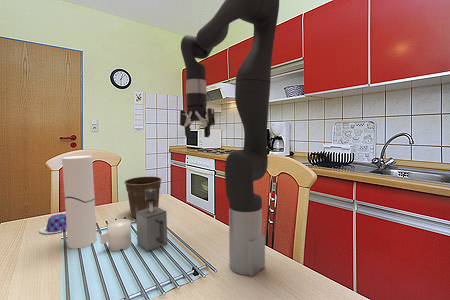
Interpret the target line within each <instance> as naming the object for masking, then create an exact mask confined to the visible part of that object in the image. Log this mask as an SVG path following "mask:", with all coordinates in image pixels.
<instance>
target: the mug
mask: <svg viewBox="0 0 450 300" xmlns="http://www.w3.org/2000/svg"><path fill="white" fill-rule="evenodd" d="M131 228H132V226H131V220H130V219H128V218H121V219H115V220H112V221H110V222H108V223H107V231H105V232H103V233H100V235H99V237H100V244H101V245H103V244H105V243H108V250H109V251H111V252H121V251H120V249H123V250H122V251H124V250H126V249H128V248H130V247H131V246H132V229H131Z"/></svg>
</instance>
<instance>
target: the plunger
mask: <svg viewBox="0 0 450 300" xmlns="http://www.w3.org/2000/svg"><path fill="white" fill-rule="evenodd" d="M145 201H146V202H149V206H150V213H151V212H153V203H152V201H156V189H146V190H145Z"/></svg>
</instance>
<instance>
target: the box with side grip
mask: <svg viewBox="0 0 450 300" xmlns="http://www.w3.org/2000/svg"><path fill="white" fill-rule="evenodd" d="M167 216H168V215H167V210H164V209H162V208H160V207H156V206H155V207H153V212H151V213H150V208H148V209H144V210H140V211H137V212H136V218H135V219H136V239H137V240H136V241H137V242H136V243H137V246H138V247H140V248H142V249H143V250H145V251H146V252H147V253H149V252H151V251H154V250H157V249H159V248H161V247H163V246H165V245H167V244H168V223H167V222H168V221H167V219H168V218H167ZM160 246H161V247H160ZM150 250H151V251H150Z"/></svg>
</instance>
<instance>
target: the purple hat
mask: <svg viewBox="0 0 450 300" xmlns="http://www.w3.org/2000/svg"><path fill="white" fill-rule="evenodd" d="M64 229H65V231H67V223H66V213H58V214H57V213H56V214H54V215H52V216H50V217H48V219H47V224H46V225H45V226H43V227H41V228H40V229H39V233H41V234H45V235H46V234H48V235H49V234H50V233H52V234H56V233H60V232H64V231H63V230H64Z"/></svg>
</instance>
